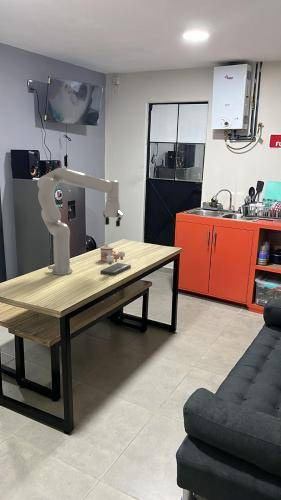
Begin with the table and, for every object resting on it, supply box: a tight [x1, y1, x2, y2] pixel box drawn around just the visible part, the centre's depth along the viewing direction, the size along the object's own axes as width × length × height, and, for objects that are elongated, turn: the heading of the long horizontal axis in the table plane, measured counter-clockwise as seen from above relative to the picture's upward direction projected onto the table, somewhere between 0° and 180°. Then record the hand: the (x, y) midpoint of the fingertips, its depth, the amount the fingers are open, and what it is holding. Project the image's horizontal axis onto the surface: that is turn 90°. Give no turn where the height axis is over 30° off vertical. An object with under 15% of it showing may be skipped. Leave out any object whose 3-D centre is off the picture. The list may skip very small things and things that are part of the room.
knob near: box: [106, 256, 115, 266], centre depth 237 cm, size 4×4×5 cm
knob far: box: [117, 250, 126, 261], centre depth 249 cm, size 4×4×5 cm
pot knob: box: [113, 252, 120, 263], centre depth 243 cm, size 4×4×5 cm
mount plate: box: [100, 262, 132, 277], centre depth 245 cm, size 21×10×2 cm, turn 152°
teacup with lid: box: [100, 243, 117, 262], centre depth 269 cm, size 12×9×12 cm
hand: (112, 225), depth 251 cm, fingers open, 9 cm apart
